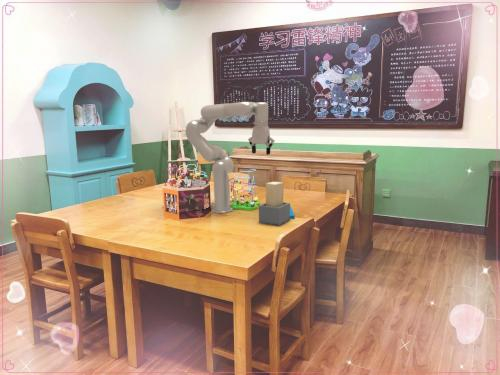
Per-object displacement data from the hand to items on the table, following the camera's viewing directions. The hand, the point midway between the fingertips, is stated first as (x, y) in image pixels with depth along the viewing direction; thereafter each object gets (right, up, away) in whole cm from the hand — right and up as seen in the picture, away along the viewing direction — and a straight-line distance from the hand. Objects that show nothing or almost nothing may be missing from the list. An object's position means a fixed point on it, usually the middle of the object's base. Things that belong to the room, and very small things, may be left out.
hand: (261, 153), depth 242 cm
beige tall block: (+7, -38, -12) cm, 40 cm away
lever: (+15, -36, +3) cm, 39 cm away
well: (+7, -39, -12) cm, 41 cm away
